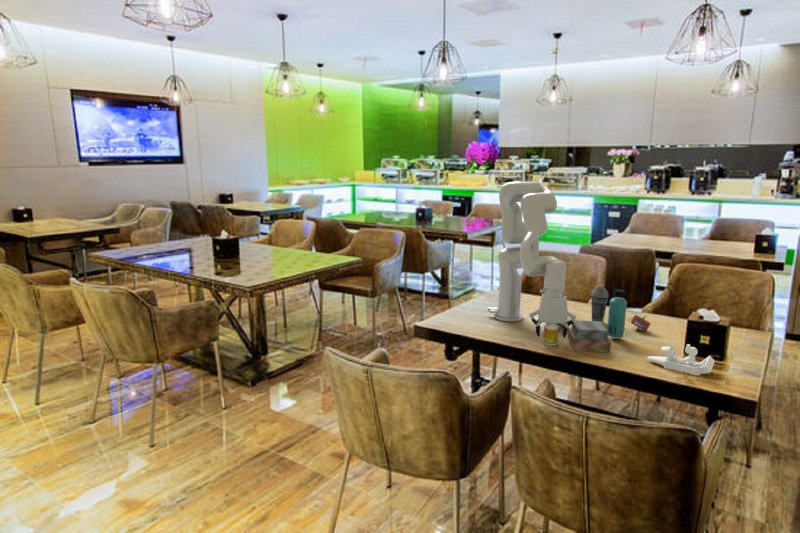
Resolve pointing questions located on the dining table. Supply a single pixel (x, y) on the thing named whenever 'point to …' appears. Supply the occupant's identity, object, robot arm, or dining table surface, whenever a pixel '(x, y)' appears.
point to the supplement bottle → (550, 334)
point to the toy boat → (683, 361)
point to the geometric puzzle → (640, 323)
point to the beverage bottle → (617, 315)
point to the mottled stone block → (589, 336)
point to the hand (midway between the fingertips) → (551, 336)
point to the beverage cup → (599, 303)
